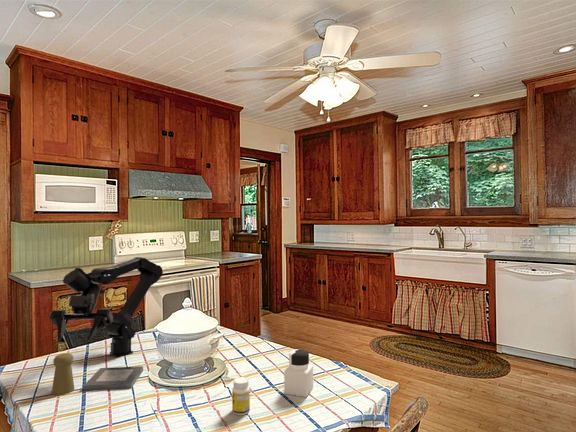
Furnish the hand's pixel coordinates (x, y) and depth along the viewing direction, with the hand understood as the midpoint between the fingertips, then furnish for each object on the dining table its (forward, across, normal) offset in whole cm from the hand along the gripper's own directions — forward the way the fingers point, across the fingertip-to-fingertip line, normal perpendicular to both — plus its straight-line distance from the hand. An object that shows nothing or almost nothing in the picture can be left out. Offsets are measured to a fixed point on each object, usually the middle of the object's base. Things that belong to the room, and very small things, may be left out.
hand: (74, 340), depth 122 cm
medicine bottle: (+21, +71, -2) cm, 74 cm away
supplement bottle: (+28, +54, -9) cm, 61 cm away
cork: (+15, 0, +4) cm, 15 cm away
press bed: (+10, +13, +9) cm, 19 cm away
